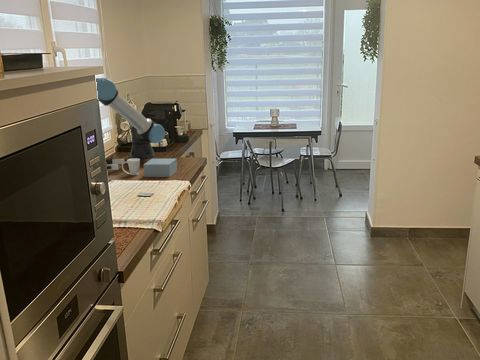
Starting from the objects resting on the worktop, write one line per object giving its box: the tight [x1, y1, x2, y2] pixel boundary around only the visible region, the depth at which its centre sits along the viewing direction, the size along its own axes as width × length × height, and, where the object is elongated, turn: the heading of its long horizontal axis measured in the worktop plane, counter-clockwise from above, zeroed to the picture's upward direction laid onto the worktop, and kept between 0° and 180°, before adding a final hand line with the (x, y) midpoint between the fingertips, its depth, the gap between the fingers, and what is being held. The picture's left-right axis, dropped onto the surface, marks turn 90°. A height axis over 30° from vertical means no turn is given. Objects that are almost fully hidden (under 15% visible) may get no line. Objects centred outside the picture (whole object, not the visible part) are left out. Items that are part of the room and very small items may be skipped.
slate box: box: [142, 158, 178, 178], centre depth 246 cm, size 15×14×7 cm
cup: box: [121, 158, 141, 176], centre depth 246 cm, size 7×10×8 cm
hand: (121, 164), depth 245 cm, fingers open, 13 cm apart
